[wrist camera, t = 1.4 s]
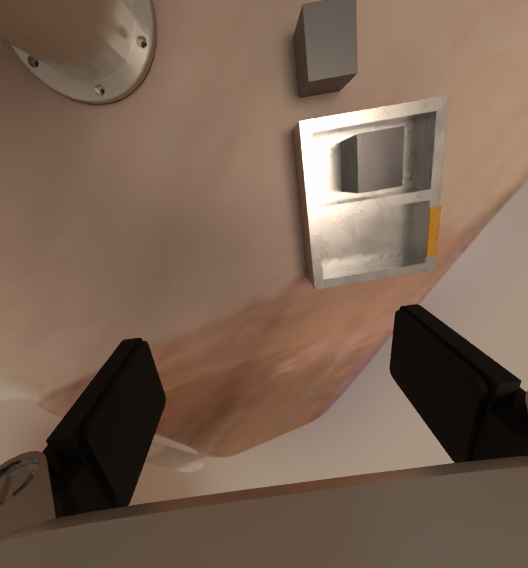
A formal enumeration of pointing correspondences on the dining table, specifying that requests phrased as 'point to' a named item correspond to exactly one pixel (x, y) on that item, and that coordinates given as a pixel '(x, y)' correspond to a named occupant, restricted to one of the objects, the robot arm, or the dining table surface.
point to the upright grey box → (325, 46)
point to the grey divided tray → (371, 191)
